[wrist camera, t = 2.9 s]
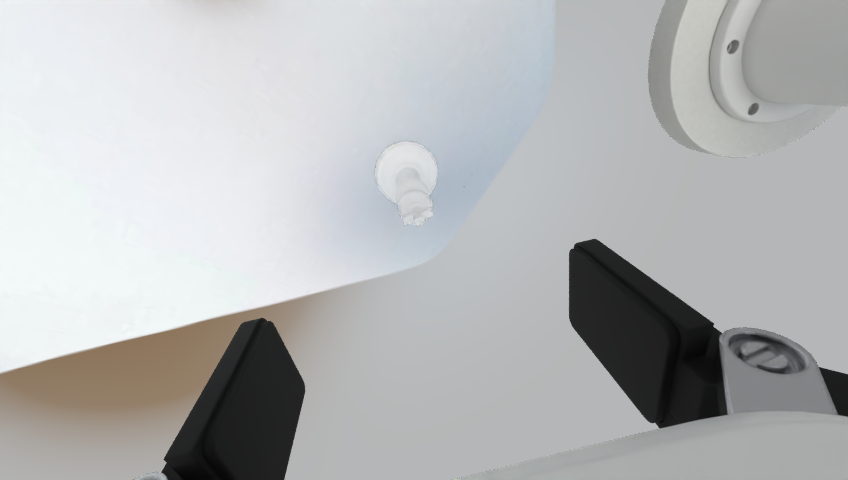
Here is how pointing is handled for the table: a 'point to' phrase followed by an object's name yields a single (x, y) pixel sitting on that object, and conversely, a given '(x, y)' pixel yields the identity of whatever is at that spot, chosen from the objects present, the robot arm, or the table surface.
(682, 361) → the robot arm
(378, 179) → the chess piece
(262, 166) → the table surface
